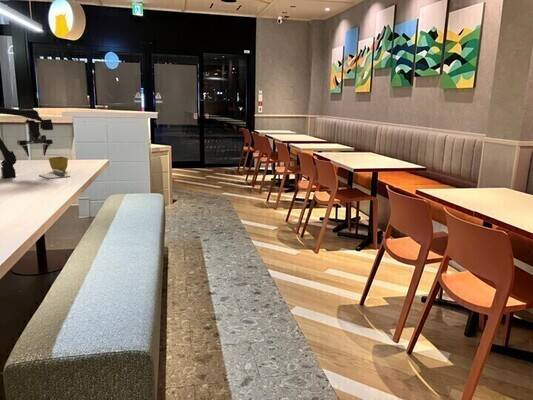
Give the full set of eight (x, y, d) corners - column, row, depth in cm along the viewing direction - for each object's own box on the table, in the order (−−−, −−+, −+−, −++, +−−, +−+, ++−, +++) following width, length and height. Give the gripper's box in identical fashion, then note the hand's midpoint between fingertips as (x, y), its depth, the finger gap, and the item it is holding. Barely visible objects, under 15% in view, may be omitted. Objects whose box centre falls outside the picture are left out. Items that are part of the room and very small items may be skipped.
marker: (60, 176, 266) (60, 172, 265) (53, 173, 275) (52, 169, 274) (64, 175, 268) (64, 171, 267) (57, 173, 276) (56, 169, 276)
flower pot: (56, 172, 280) (54, 159, 278) (49, 171, 286) (48, 157, 283) (69, 171, 287) (68, 157, 285) (62, 169, 292) (61, 156, 290)
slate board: (47, 179, 259) (47, 178, 259) (39, 175, 269) (39, 174, 269) (70, 176, 268) (69, 175, 268) (60, 173, 278) (60, 172, 278)
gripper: (21, 131, 254) (23, 158, 257) (54, 131, 266) (56, 156, 270) (15, 130, 261) (18, 156, 265) (48, 129, 274) (50, 154, 278)
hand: (36, 156), depth 269 cm, fingers open, 9 cm apart
